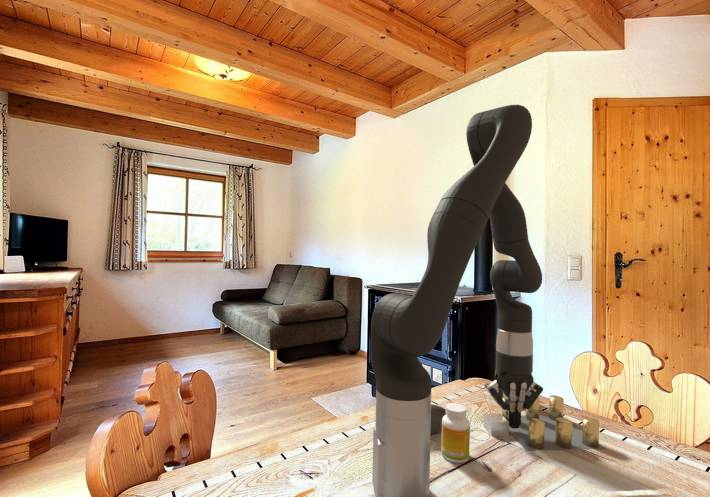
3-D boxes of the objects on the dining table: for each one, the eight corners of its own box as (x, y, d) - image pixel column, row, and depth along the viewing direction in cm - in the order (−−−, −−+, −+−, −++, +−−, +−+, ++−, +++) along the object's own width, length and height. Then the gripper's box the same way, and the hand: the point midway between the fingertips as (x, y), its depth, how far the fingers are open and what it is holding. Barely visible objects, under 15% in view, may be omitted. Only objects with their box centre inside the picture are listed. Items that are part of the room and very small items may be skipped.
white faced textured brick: (491, 436, 79) (491, 422, 79) (483, 427, 83) (483, 414, 83) (508, 435, 80) (509, 422, 80) (500, 426, 84) (500, 413, 84)
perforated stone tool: (446, 426, 85) (447, 396, 85) (456, 438, 80) (456, 406, 80) (383, 429, 83) (384, 399, 83) (389, 442, 77) (389, 409, 77)
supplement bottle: (470, 465, 69) (471, 414, 69) (441, 461, 70) (442, 411, 70) (467, 450, 75) (468, 403, 75) (440, 446, 76) (441, 400, 76)
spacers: (533, 449, 74) (533, 425, 74) (499, 416, 89) (500, 396, 89) (602, 447, 75) (602, 423, 75) (558, 415, 90) (558, 395, 90)
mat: (498, 454, 73) (498, 451, 73) (469, 419, 88) (469, 416, 88) (605, 451, 75) (605, 448, 75) (559, 417, 90) (559, 414, 90)
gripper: (493, 355, 77) (492, 436, 77) (552, 354, 78) (551, 434, 78) (478, 345, 84) (477, 419, 85) (533, 344, 86) (532, 418, 86)
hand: (513, 426), depth 81 cm, fingers closed
